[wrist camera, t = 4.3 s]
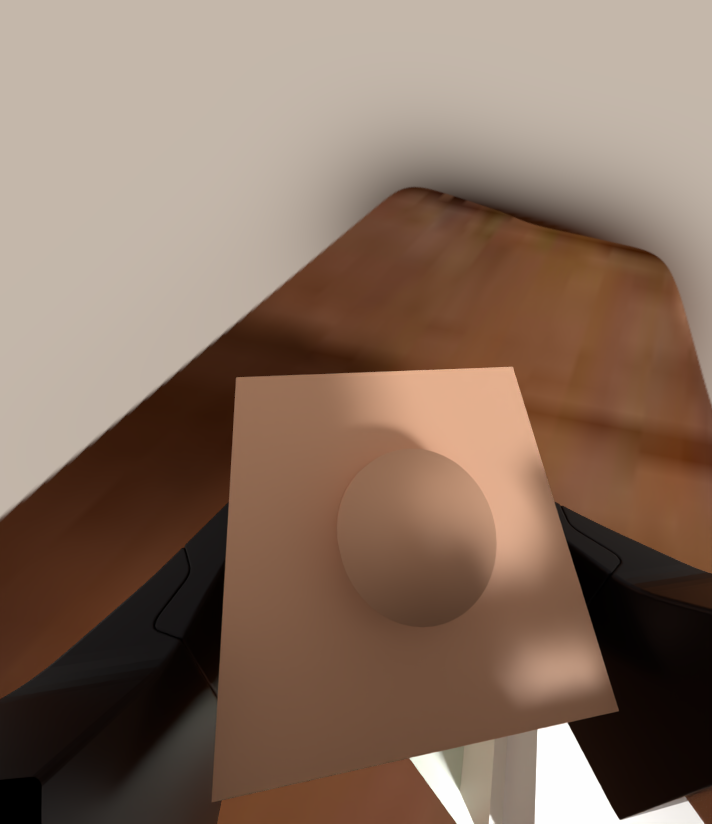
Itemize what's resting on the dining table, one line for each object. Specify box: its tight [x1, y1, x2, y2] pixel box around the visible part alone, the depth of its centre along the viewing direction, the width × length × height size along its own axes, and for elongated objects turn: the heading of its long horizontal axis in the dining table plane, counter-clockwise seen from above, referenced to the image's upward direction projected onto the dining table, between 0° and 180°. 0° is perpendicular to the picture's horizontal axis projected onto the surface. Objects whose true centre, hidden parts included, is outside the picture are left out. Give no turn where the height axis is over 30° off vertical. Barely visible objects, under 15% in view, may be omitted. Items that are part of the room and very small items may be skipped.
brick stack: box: [460, 723, 704, 824], centre depth 11 cm, size 9×9×4 cm
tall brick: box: [212, 367, 619, 802], centre depth 9 cm, size 6×6×12 cm
